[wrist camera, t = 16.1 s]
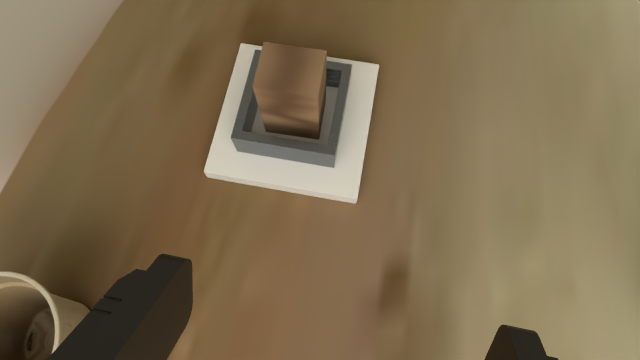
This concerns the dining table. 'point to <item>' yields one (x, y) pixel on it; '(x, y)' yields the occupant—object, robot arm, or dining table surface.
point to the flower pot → (33, 318)
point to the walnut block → (291, 89)
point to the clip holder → (291, 151)
